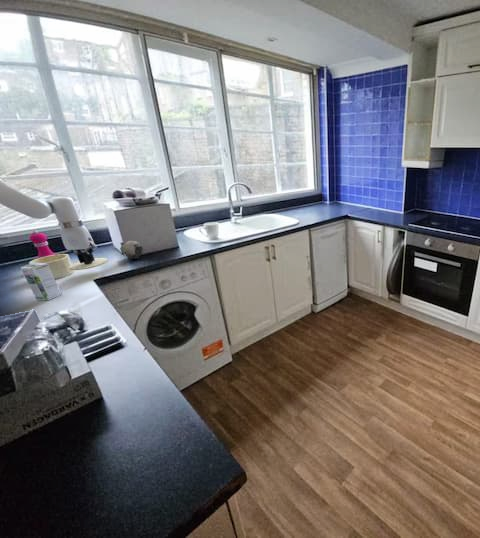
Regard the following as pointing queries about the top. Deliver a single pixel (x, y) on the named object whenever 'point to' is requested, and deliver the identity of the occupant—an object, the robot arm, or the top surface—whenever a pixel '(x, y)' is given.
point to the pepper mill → (41, 244)
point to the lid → (85, 263)
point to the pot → (56, 264)
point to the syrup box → (41, 281)
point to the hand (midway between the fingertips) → (87, 261)
